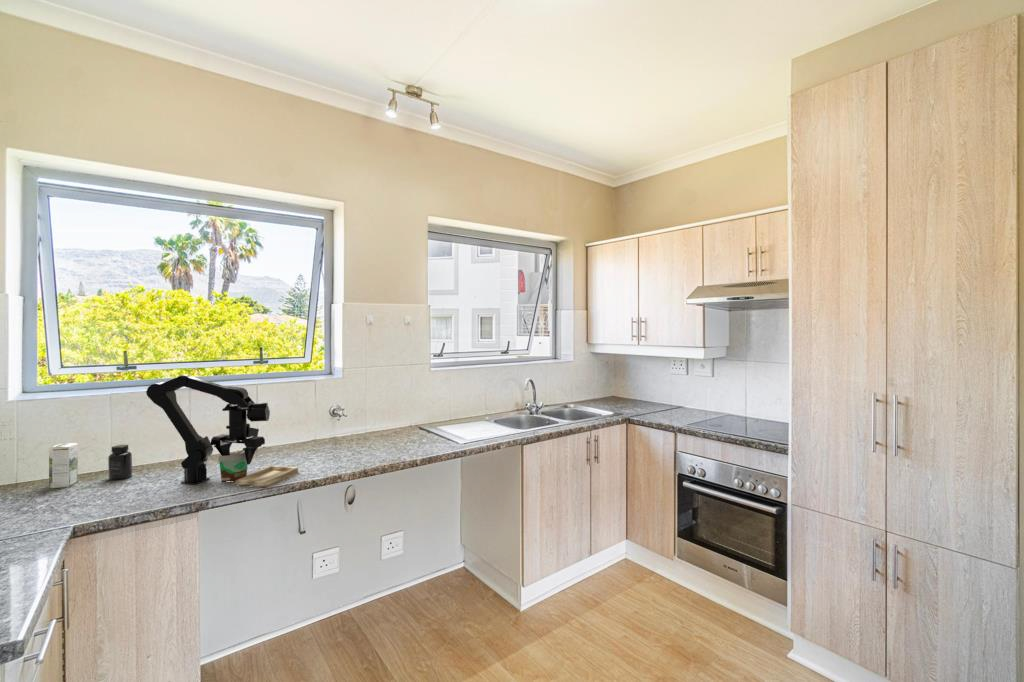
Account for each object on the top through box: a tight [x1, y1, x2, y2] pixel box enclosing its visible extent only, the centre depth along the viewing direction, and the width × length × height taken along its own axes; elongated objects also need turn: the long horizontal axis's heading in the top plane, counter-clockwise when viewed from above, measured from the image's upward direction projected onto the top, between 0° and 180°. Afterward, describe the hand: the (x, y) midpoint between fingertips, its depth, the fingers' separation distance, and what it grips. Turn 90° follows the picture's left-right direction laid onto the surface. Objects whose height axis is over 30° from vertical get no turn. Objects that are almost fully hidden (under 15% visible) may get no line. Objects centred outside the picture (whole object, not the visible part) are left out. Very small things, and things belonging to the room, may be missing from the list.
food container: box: [217, 447, 248, 483], centre depth 174 cm, size 12×6×10 cm, turn 168°
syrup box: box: [48, 442, 79, 489], centre depth 166 cm, size 6×6×14 cm
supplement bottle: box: [107, 444, 133, 481], centre depth 175 cm, size 7×7×12 cm
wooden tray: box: [235, 465, 299, 489], centre depth 174 cm, size 12×18×2 cm, turn 169°
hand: (238, 463), depth 174 cm, fingers open, 9 cm apart
